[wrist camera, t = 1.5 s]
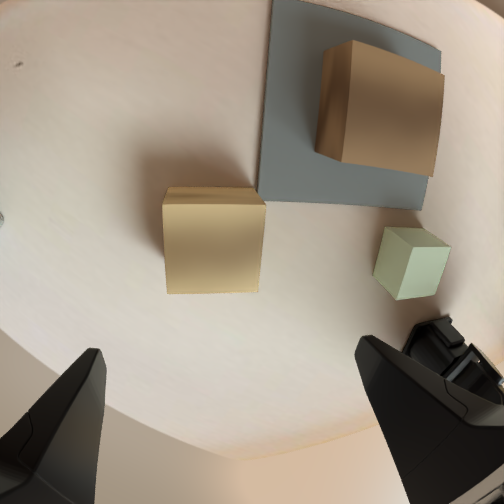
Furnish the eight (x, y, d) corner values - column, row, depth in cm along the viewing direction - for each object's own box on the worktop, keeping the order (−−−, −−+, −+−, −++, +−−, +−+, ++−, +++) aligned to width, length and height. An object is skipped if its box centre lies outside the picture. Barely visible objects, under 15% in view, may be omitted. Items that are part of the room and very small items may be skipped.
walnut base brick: (398, 163, 20) (432, 177, 16) (314, 151, 19) (341, 162, 15) (408, 76, 17) (444, 75, 13) (323, 51, 16) (352, 40, 12)
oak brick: (247, 261, 22) (257, 291, 18) (170, 262, 21) (167, 294, 17) (252, 187, 20) (266, 205, 16) (168, 186, 19) (162, 204, 15)
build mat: (418, 208, 22) (421, 210, 22) (256, 199, 20) (257, 200, 19) (437, 51, 16) (441, 51, 16) (272, -2, 14) (274, -4, 13)
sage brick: (409, 272, 25) (434, 295, 22) (371, 274, 25) (395, 300, 21) (422, 227, 24) (451, 247, 20) (384, 226, 23) (413, 247, 19)
